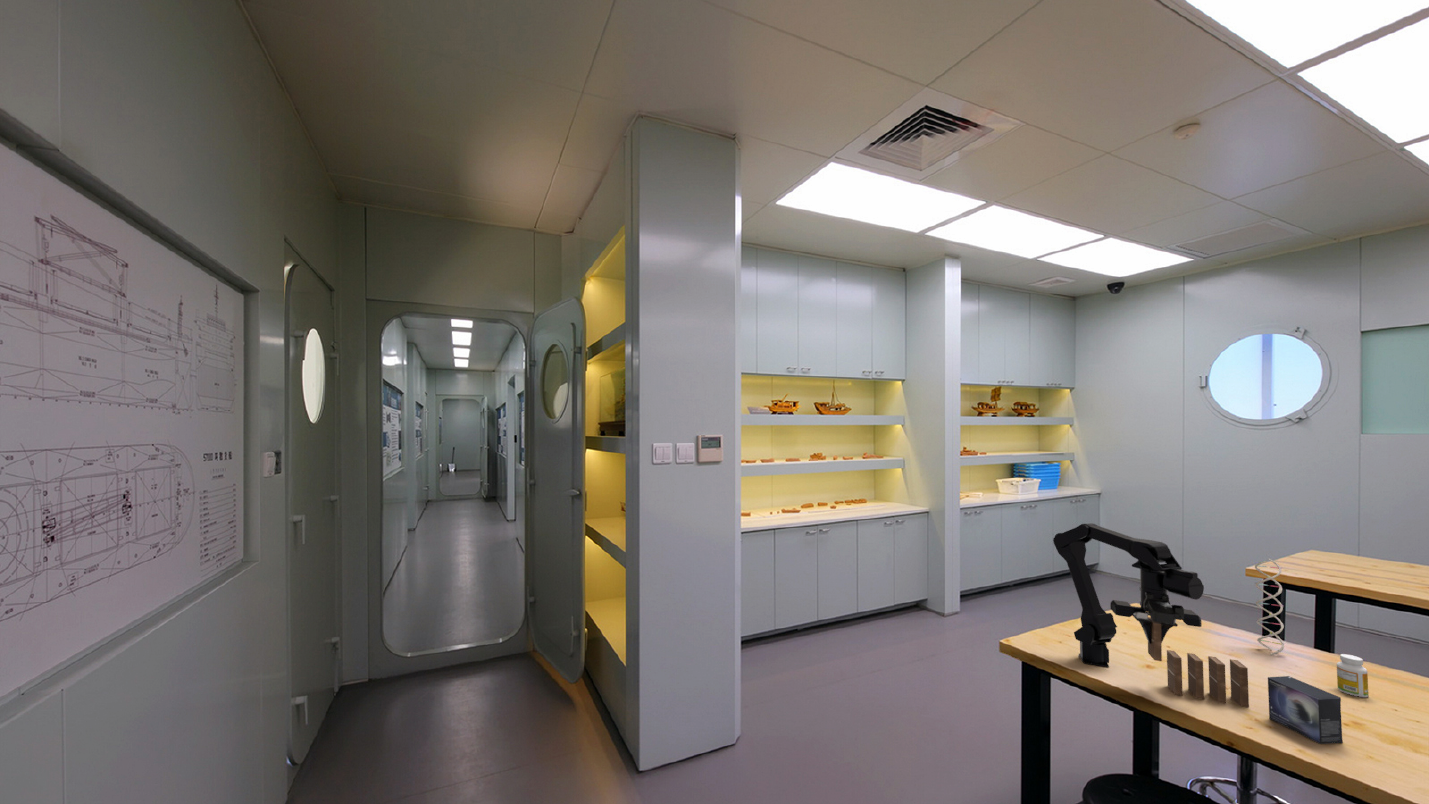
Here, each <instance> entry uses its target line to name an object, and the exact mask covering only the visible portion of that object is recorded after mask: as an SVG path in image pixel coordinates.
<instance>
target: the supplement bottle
mask: <svg viewBox="0 0 1429 804" xmlns="http://www.w3.org/2000/svg"><path fill="white" fill-rule="evenodd" d="M1339 659H1340V661H1338V662H1337V663H1336V678H1337V679H1336V680H1337V689H1338V691H1340V692H1342V693H1344V694H1347V695H1349V694H1350V695H1349V696H1353V695H1354V696H1353V697H1357V696H1359V697H1358V698H1368V697H1369V679H1368V677H1369V675H1368V669H1367V668H1365V667H1364V666H1363V665H1364V660H1363V658H1362V657H1359V656H1356V655H1352V654H1345V653H1341V654H1339Z"/></svg>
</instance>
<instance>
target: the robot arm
mask: <svg viewBox="0 0 1429 804" xmlns="http://www.w3.org/2000/svg"><path fill="white" fill-rule="evenodd" d="M1092 540H1095V541H1097V542H1101V543H1103V544H1106V545H1109V546H1112V547H1114V548H1117V549H1120V550H1123V551H1125V552H1126V553H1128V554H1129V555H1130V556H1131V557H1132V558H1134V559H1136V560H1137V561H1136V562H1134V563H1132V564H1131V567H1132V568H1136V569H1139V573H1140V574H1139V575H1140V576H1139V577H1140V580H1139V581H1140V583H1139V584H1140V585H1139V591H1140V601H1139V605H1140V606H1133V605H1131V604H1130V603H1129V602H1128V601H1124V600H1116V599H1112V600H1111V601H1110V603H1109V604H1110V606H1109V607H1110V610H1111V611H1112V613H1114V615H1115V616H1118V617H1125V618H1131V617H1133V618H1134V619H1135V620H1136V621H1137V622H1139V624H1140V626H1141V628H1142V630H1143V632H1144V635H1145V638H1146V640H1147V643H1148V642H1149V643H1150V644H1151V643H1152V637H1151V629H1150V624H1151V621H1150V620H1149V619H1148V617H1149V616H1150V617H1151V619H1152V620H1153V621H1154V622H1158V623H1160V624H1161V644H1162V643H1163V641H1164V639H1165V637H1166V635H1167V633H1168V632H1169V631H1170V629H1171V628H1173V627H1178V626H1179V625H1178V623H1176V621H1177V620H1178V621H1182V622H1183V623H1185V625H1186V626H1189V627H1198V628H1201V627H1202V618H1201V617H1200V615H1198V614H1197V613H1196V612H1195V611H1193V610H1192V609H1184V607H1183V605H1181V604H1180V605H1178V604H1171V602H1170V597H1169V594H1168V592H1169V593H1171V594H1175V595H1177V596H1182V597H1185V598H1188V599H1192V600H1196V601H1197V600H1199V599H1200V598H1201V597H1202V596H1203V595H1204V589H1205V587H1204V584H1203V581H1202V580H1201V579H1200V578H1199V577H1198V576H1199V575H1198V573H1197V572H1194V571H1187V570H1185V569H1184V570H1183V568H1182V566H1181V565H1180V564H1179V562H1178V561H1177V559H1176V558H1175V557H1174V556H1173V553H1172V552H1171V549H1170V548H1169V546H1168V544H1166V543H1164V542H1162V541H1157V540H1153V539H1152V540H1151V539H1145V538H1137V537H1132V536H1130V535H1127V534H1124V533H1120V532H1117V531H1114V530H1111V529H1109V528H1105V527H1103V526H1100V525H1098V524H1095V523H1092V522H1089V523H1081V524H1079V525H1077V526H1076V527H1073V528H1072V529H1069V530H1066V531H1064V532H1058V533H1056V534H1055V535H1054V537H1053V538H1052V541H1053V545H1054V547H1055V548H1056V549H1055V550H1056V551H1057V553H1058V554H1059V555H1060V556H1061V558H1062V559H1063V560H1064V561H1065V562H1066V563H1067V567H1068V571H1069V573H1070V577H1071V578H1072V582H1073V585H1074V588H1075V591H1076V594H1077V596H1078V599H1079V602H1080V606H1081V609H1082V610H1081V614H1080V623H1081V627H1080V628H1078V629H1076V630H1075V631H1074V632H1073V634H1074V635H1073V636H1074V638H1075V640H1076V641H1078V642H1079V653H1078V657H1079V658H1080V661H1081V662H1082V663H1083V664H1086V665H1092V666H1100V667H1106V668H1109V667H1110V666H1109V664H1110V650H1109V648H1108V647H1107V643H1111V641H1112V640H1113V638H1114V637H1115V636H1116V634H1117V628H1118V625H1117V624H1116V622H1115V620H1114V615H1113V614H1112V613H1111V612H1106V611H1105V610H1104V609H1103V608H1102V605H1101V603H1100V600H1099V598H1098V594H1097V591H1096V589H1095V586H1094V583H1093V579H1092V578H1091V575H1090V572H1089V568H1088V566H1087V564H1086V560H1085V558H1086V554H1087V547H1086V546H1087V545H1086V544H1088V543H1089V542H1091V541H1092Z"/></svg>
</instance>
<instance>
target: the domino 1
mask: <svg viewBox="0 0 1429 804" xmlns="http://www.w3.org/2000/svg"><path fill="white" fill-rule="evenodd" d="M1148 619H1149V620H1150V621H1151V624H1150V629H1151V637H1152V643H1151V644H1150V643H1149V642H1148V641H1147V654H1148V655H1149V656H1150V657H1151V658H1152V660H1154V661H1157V662H1163V661H1162V660H1163V654H1162V652H1163V651H1162V649H1163V648H1162V643H1161V624H1160V623H1158V622H1154V621H1153V620H1152V619H1151V617H1149V616H1148Z"/></svg>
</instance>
